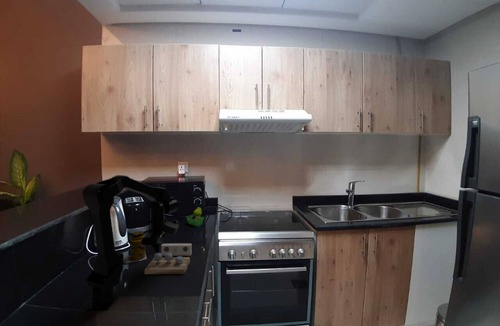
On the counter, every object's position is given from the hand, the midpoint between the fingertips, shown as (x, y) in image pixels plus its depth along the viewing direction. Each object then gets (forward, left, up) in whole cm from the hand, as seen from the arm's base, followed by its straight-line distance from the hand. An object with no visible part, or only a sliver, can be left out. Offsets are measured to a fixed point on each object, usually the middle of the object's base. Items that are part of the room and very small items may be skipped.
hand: (157, 252), depth 93 cm
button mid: (0, -5, -5) cm, 7 cm away
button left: (0, 0, -5) cm, 5 cm away
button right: (0, -9, -7) cm, 11 cm away
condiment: (+9, +13, -7) cm, 18 cm away
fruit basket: (+58, -5, -7) cm, 59 cm away
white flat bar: (+12, -5, -7) cm, 15 cm away
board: (0, -5, -7) cm, 8 cm away
